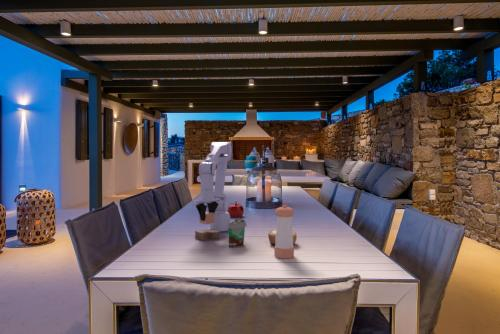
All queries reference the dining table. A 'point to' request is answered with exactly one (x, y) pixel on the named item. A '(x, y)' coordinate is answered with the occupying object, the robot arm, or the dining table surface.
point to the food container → (236, 233)
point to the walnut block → (207, 234)
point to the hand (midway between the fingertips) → (207, 219)
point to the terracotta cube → (208, 218)
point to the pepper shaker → (284, 233)
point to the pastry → (273, 234)
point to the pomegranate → (235, 210)
